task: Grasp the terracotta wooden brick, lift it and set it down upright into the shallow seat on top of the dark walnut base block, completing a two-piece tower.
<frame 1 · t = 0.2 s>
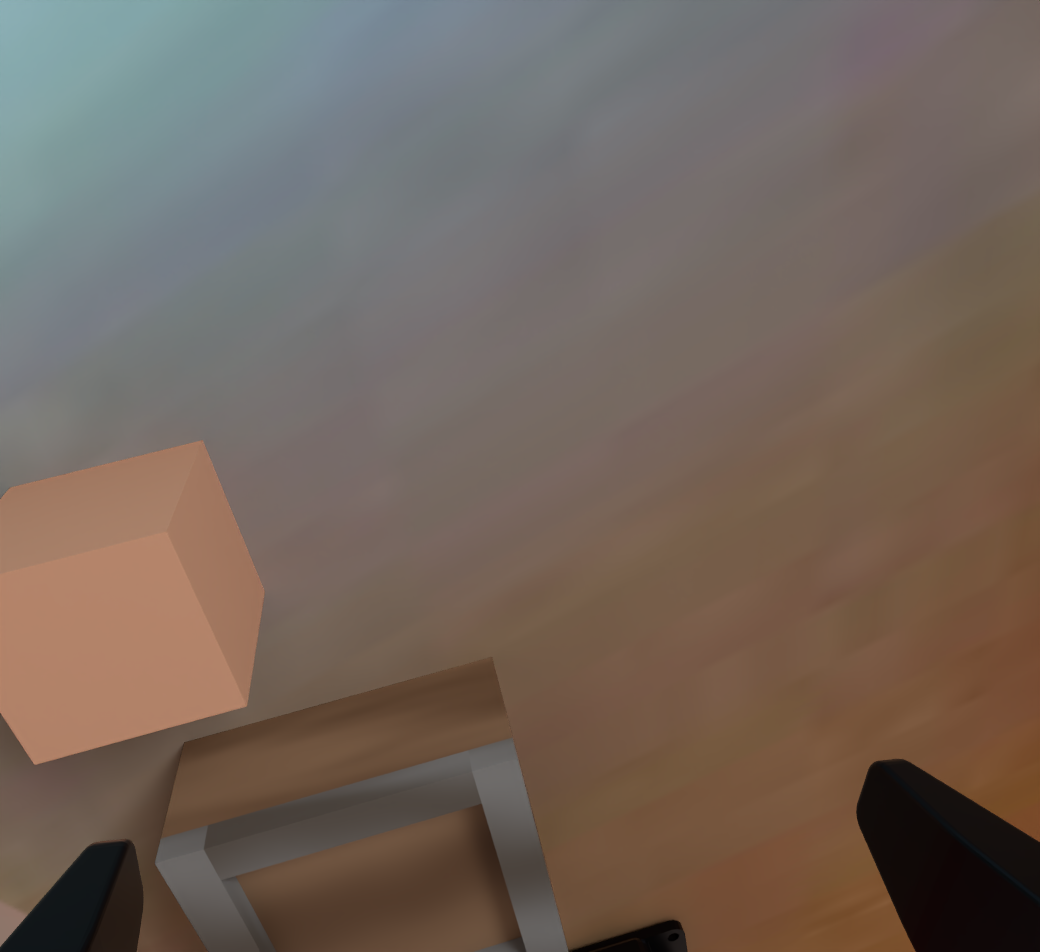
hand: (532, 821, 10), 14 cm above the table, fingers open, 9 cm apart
base block: (381, 798, 29), on the table
top brick: (145, 541, 22), on the table
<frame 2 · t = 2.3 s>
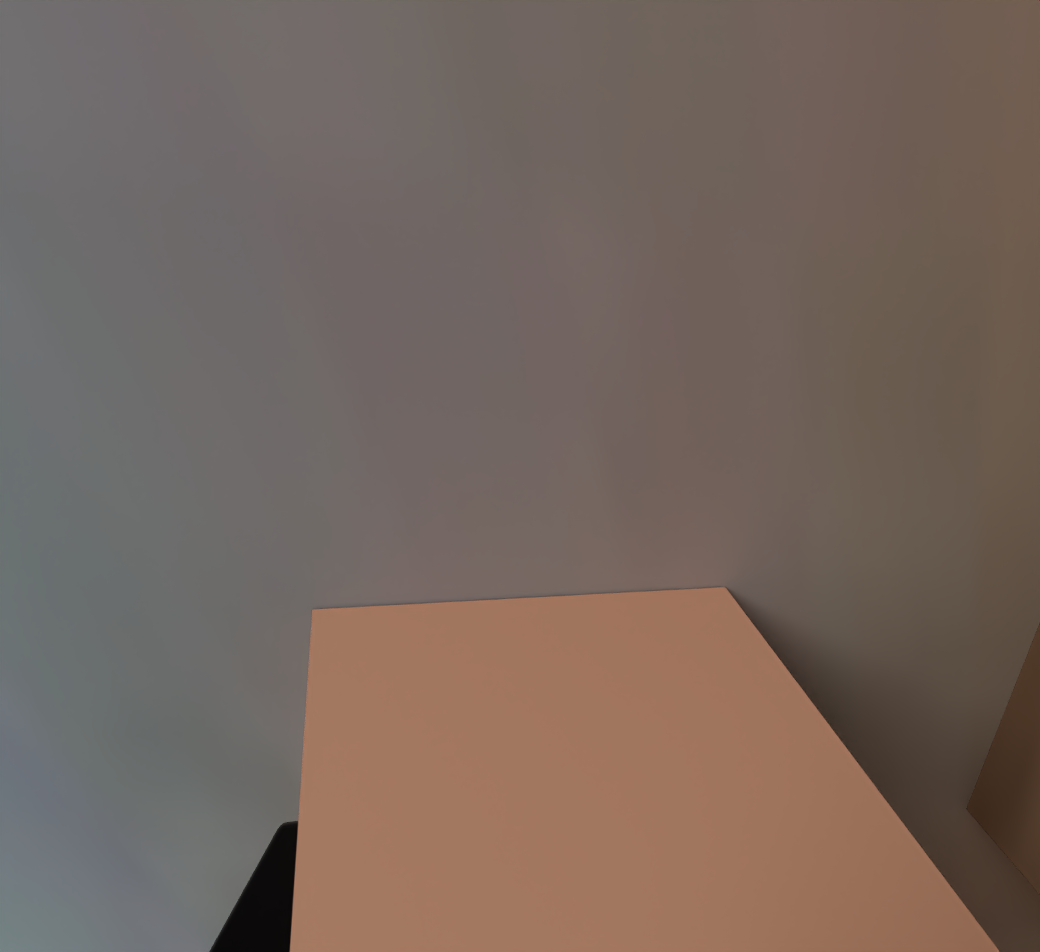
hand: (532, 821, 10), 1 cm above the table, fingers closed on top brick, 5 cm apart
top brick: (516, 757, 11), on the table, touching gripper
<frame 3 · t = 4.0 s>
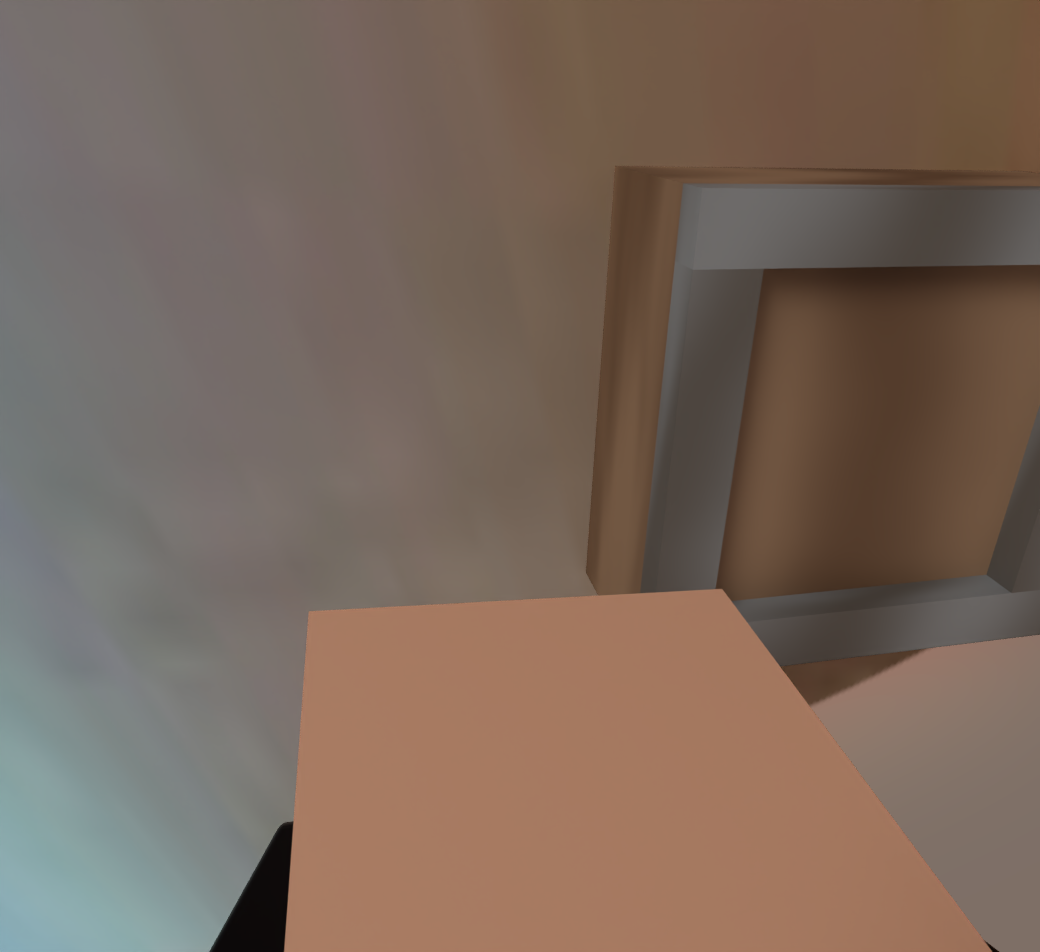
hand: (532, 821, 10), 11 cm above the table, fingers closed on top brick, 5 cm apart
base block: (785, 379, 20), on the table
top brick: (513, 759, 11), point 9 cm above the table, touching gripper
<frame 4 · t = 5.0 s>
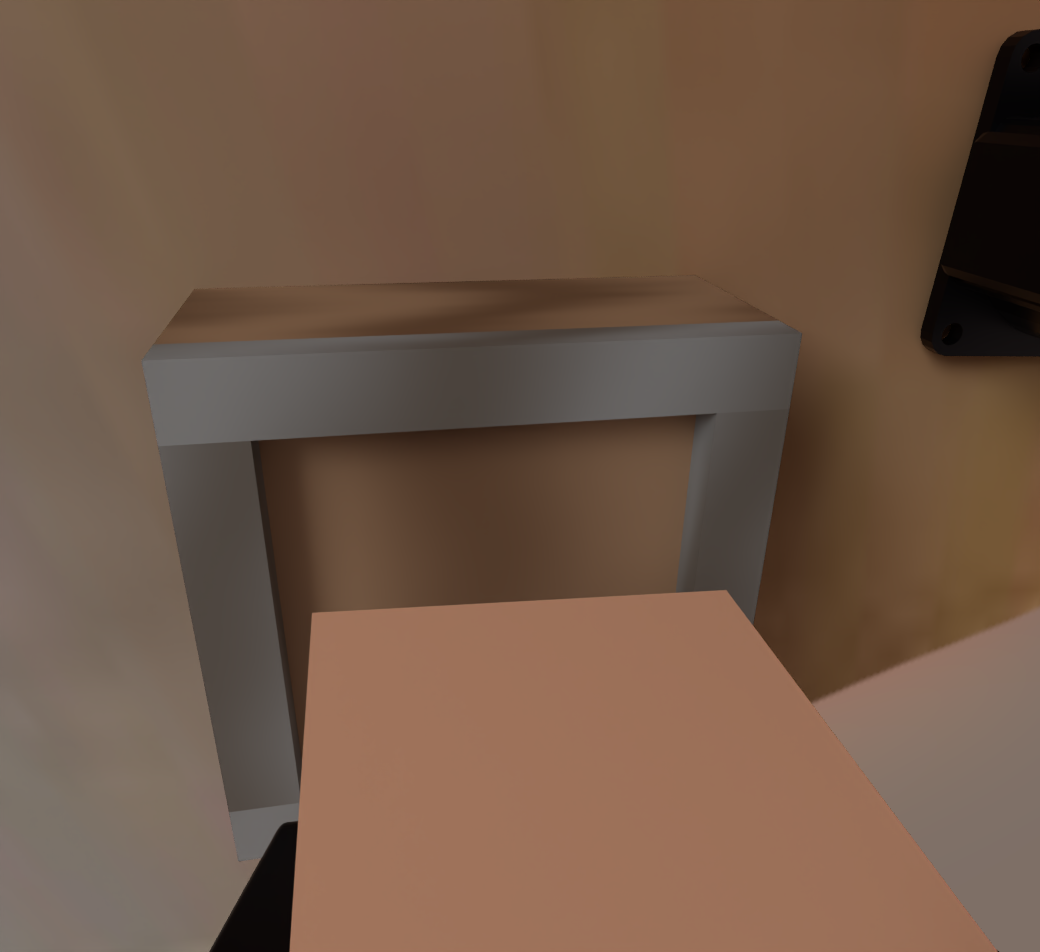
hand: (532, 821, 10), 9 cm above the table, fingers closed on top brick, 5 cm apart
base block: (461, 498, 19), on the table
top brick: (516, 760, 11), point 8 cm above the table, touching gripper
when the fingers open (6 cm above the table, at t = 5.9 s): top brick drops 2 cm, point 4 cm above the table.
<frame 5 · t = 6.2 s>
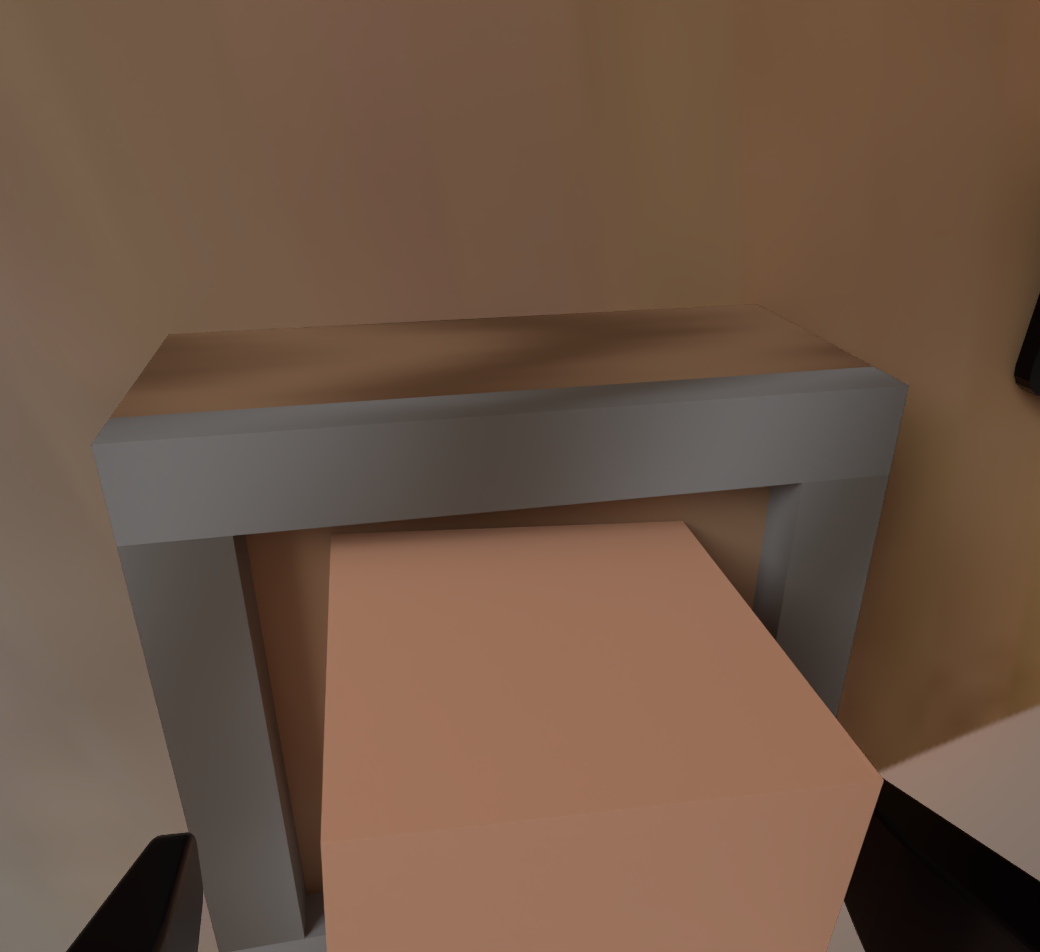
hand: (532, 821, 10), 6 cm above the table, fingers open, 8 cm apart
base block: (484, 560, 16), on the table
top brick: (504, 671, 12), point 4 cm above the table
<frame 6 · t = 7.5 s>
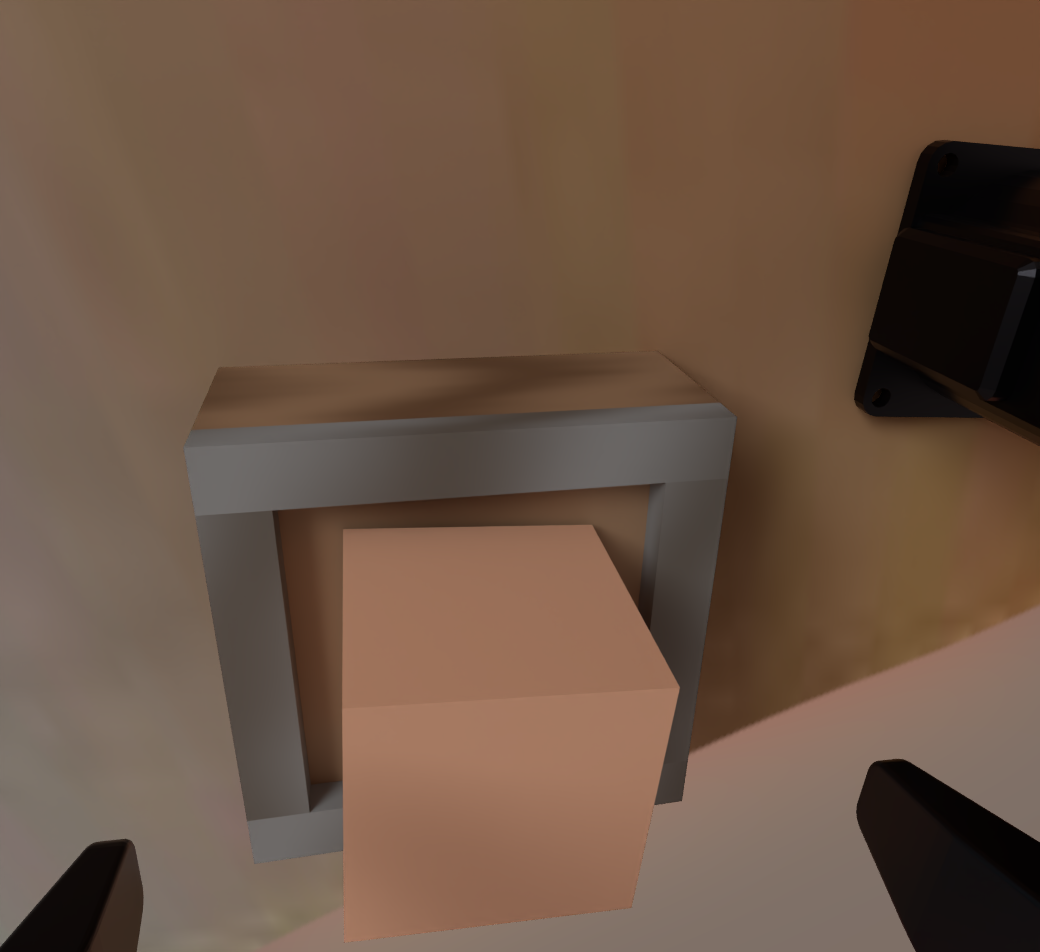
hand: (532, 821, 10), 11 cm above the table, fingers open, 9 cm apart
base block: (450, 541, 21), on the table
top brick: (464, 629, 17), point 4 cm above the table
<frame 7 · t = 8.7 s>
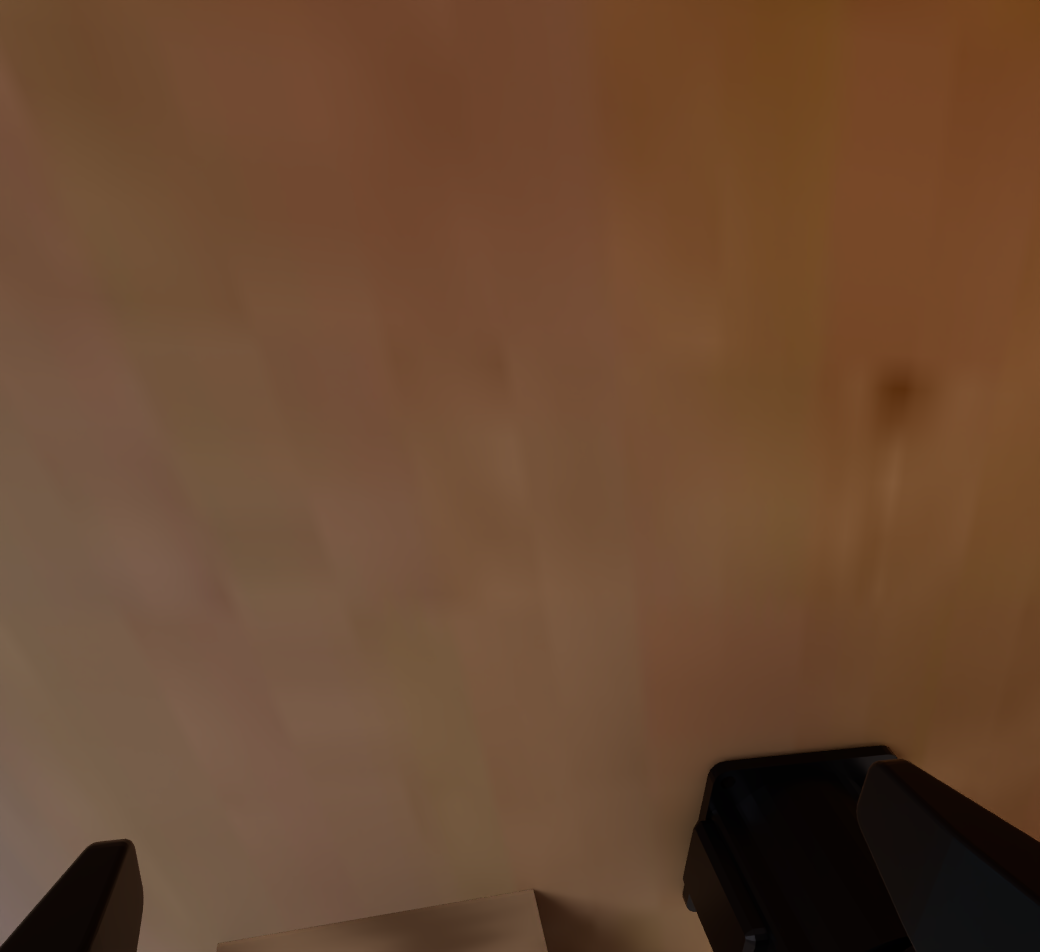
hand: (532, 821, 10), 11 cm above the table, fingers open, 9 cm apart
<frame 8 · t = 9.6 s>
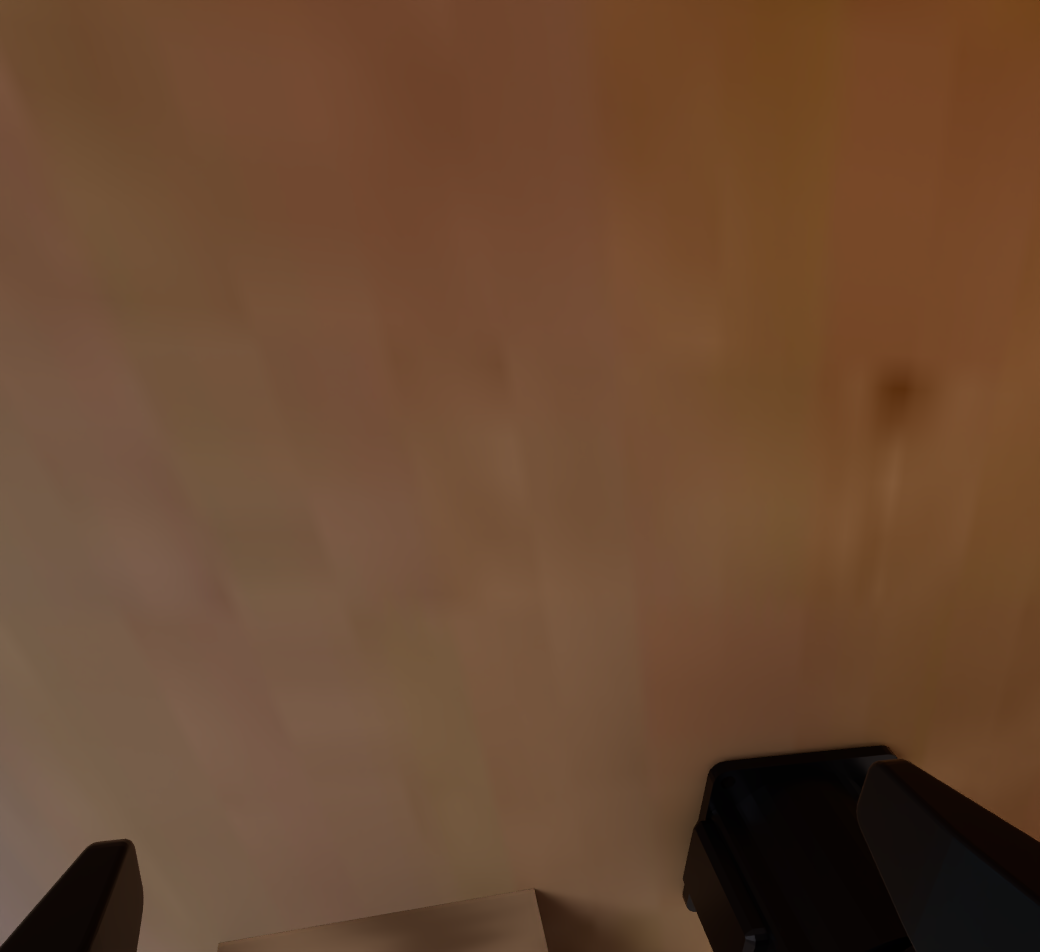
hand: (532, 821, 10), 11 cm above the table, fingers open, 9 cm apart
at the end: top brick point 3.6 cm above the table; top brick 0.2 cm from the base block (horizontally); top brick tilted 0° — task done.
